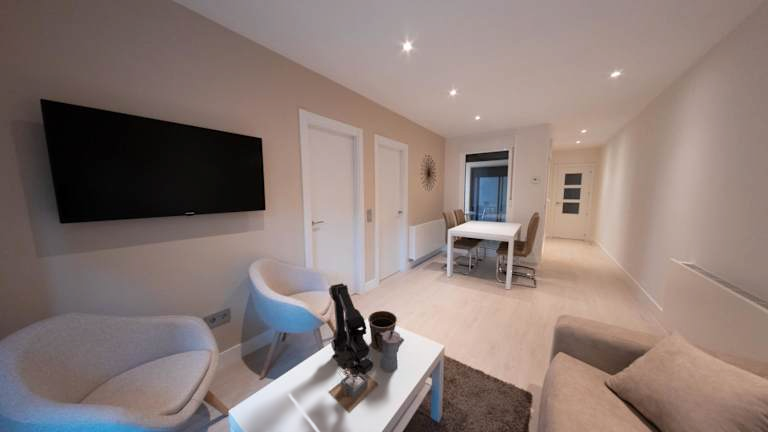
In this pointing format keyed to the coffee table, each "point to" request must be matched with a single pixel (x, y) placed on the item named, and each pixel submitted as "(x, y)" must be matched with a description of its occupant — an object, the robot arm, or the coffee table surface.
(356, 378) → the plunger
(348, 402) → the board
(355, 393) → the press
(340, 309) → the robot arm
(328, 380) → the coffee table surface
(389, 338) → the moka pot
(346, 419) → the coffee table surface
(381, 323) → the plant pot
